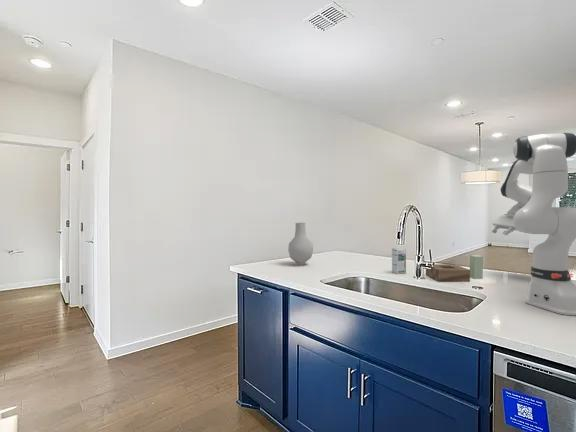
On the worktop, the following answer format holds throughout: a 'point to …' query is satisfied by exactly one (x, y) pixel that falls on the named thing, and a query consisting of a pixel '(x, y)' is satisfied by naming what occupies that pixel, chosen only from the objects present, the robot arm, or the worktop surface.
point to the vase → (300, 246)
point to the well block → (448, 273)
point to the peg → (476, 266)
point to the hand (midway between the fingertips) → (498, 233)
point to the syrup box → (398, 260)
